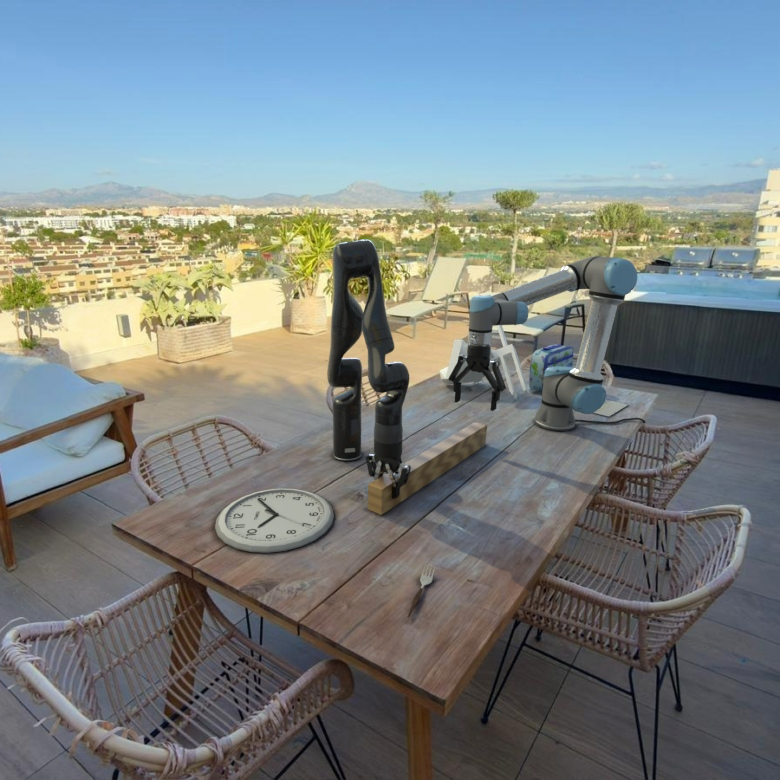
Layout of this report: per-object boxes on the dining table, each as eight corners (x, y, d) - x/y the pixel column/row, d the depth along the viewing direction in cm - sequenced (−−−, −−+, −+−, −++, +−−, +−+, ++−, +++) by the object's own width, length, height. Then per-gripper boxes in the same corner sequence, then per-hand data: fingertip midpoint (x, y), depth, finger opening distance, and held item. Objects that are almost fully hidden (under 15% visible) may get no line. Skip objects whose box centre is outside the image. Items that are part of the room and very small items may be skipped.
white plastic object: (461, 429, 252) (437, 405, 227) (444, 352, 274) (420, 323, 250) (535, 404, 240) (518, 377, 215) (510, 326, 262) (492, 293, 237)
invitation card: (608, 416, 214) (573, 407, 224) (608, 416, 214) (573, 408, 224) (628, 404, 229) (594, 396, 238) (628, 405, 229) (594, 397, 238)
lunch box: (545, 397, 238) (550, 352, 231) (524, 391, 245) (529, 348, 239) (572, 386, 255) (578, 344, 249) (552, 381, 262) (557, 340, 256)
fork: (401, 617, 102) (401, 609, 101) (424, 570, 116) (425, 562, 116) (414, 621, 101) (414, 612, 100) (436, 572, 115) (436, 565, 115)
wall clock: (332, 544, 122) (200, 548, 120) (332, 550, 123) (201, 555, 120) (334, 484, 151) (228, 486, 148) (334, 489, 151) (228, 491, 149)
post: (473, 441, 187) (475, 421, 185) (485, 444, 184) (487, 424, 182) (367, 509, 141) (367, 484, 139) (381, 515, 138) (381, 489, 136)
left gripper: (358, 434, 139) (358, 492, 144) (401, 448, 131) (400, 508, 136) (375, 426, 145) (375, 482, 150) (418, 439, 137) (416, 497, 142)
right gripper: (440, 340, 175) (437, 400, 181) (510, 351, 160) (504, 416, 167) (451, 337, 180) (448, 395, 187) (519, 347, 166) (514, 410, 173)
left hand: (387, 494), depth 143 cm, fingers closed on post, 4 cm apart
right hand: (475, 405), depth 177 cm, fingers open, 13 cm apart
